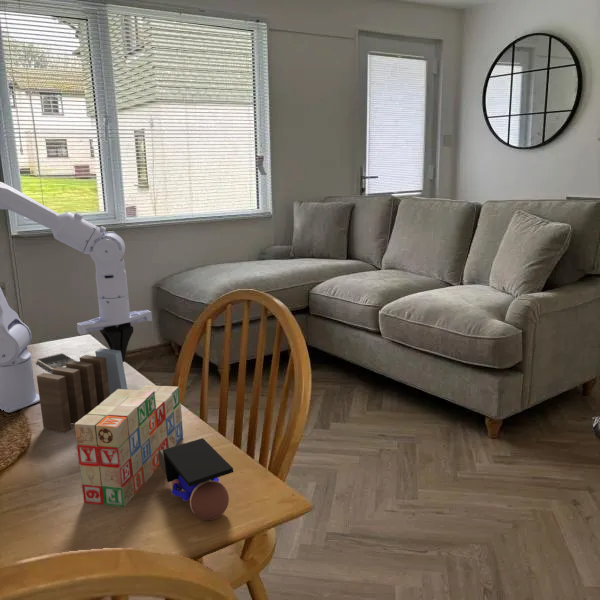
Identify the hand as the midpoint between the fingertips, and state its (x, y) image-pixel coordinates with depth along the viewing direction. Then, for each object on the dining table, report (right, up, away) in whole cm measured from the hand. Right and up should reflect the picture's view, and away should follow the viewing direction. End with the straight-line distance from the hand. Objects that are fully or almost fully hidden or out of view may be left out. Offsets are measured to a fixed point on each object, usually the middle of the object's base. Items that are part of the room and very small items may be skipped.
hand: (119, 361), depth 119 cm
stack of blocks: (+11, -14, -27) cm, 32 cm away
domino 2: (-5, -10, -11) cm, 15 cm away
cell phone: (-21, -3, +20) cm, 29 cm away
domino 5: (-1, -7, 0) cm, 7 cm away
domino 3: (-4, -9, -8) cm, 13 cm away
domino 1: (-7, -11, -14) cm, 19 cm away
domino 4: (-3, -8, -5) cm, 10 cm away
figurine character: (+22, -16, -36) cm, 45 cm away
